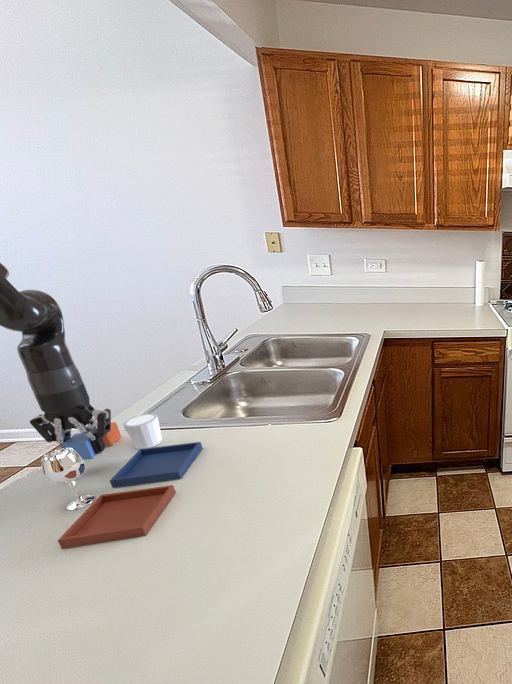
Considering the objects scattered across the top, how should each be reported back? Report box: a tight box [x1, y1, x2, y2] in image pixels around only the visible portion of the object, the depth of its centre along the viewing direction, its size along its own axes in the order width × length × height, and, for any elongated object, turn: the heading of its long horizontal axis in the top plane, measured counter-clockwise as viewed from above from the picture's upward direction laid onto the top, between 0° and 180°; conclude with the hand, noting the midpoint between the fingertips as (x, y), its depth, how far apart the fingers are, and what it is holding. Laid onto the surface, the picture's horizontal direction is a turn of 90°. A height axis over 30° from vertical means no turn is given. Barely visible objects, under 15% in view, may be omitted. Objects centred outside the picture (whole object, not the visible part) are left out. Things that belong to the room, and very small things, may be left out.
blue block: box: [60, 432, 98, 461], centre depth 89 cm, size 4×4×4 cm
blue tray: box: [109, 441, 203, 489], centre depth 93 cm, size 13×12×2 cm
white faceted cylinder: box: [122, 412, 163, 450], centre depth 101 cm, size 7×7×7 cm
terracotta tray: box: [57, 484, 177, 550], centre depth 78 cm, size 13×12×2 cm
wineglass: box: [40, 447, 97, 511], centre depth 80 cm, size 6×6×12 cm
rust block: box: [91, 421, 122, 447], centre depth 102 cm, size 4×4×4 cm
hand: (86, 453), depth 90 cm, fingers closed on blue block, 4 cm apart
